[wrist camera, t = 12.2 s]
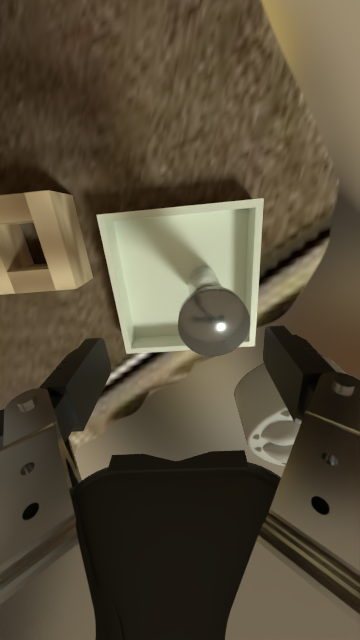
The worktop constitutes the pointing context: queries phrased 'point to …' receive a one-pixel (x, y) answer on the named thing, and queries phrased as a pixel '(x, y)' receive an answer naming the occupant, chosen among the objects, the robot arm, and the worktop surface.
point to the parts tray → (178, 265)
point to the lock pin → (212, 316)
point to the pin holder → (55, 237)
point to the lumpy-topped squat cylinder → (267, 415)
